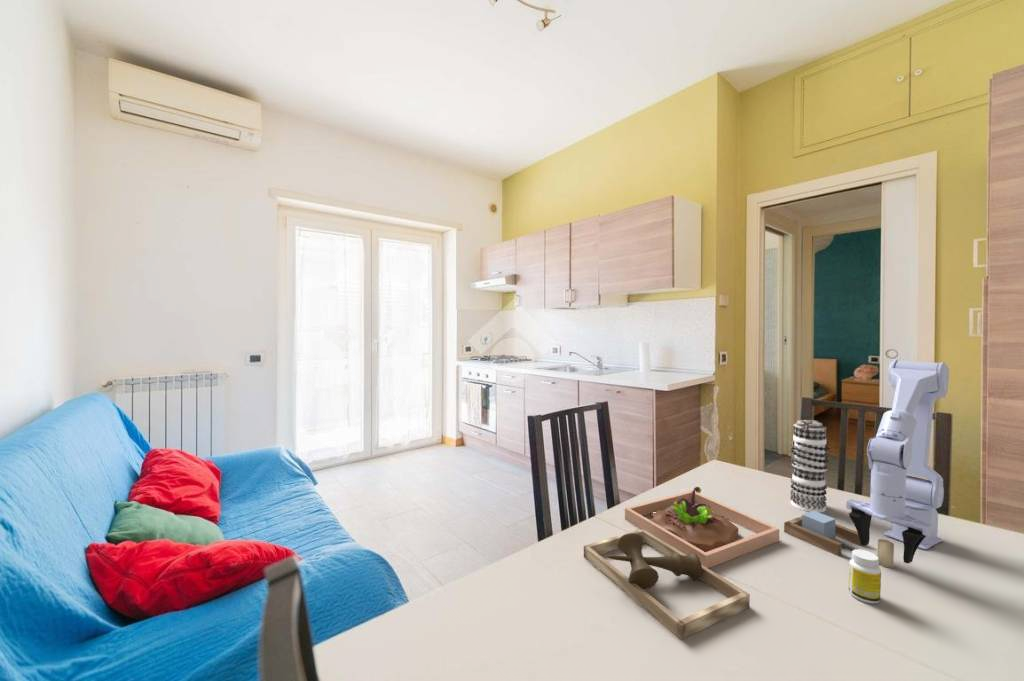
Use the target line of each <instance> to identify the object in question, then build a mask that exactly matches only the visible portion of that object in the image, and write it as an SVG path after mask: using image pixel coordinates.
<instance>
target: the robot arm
mask: <svg viewBox="0 0 1024 681" xmlns="http://www.w3.org/2000/svg"><path fill="white" fill-rule="evenodd" d="M887 373H888V374H887V376H888V381H889V382H890V383H891V387H892V388H893V389H894V397H893V401H892V407H891V409H890V410H887V411H885V412H884V413H883V415H882V418H881V419H880V420H881V421H880V422H879V426H878V429H877V432H876V435H875V436H874V437H871V438H869V441H868V443H867V448H866V455H867V459H868V469H869V470H871V471H870V494H869V495H870V496H869V497H870V498H869V499H870V500H869V503H868V502H864V501H859V500H856V499H853V498H849V499H847V500H846V501H845V502H846V506H845V508H846V509H848V510H851V512H849V513H848V517H849V518H850V521H852V523H853V525H854V527H855V529H856V530H855V531H857V532H858V535H859V539H860V543H861V545H860V546H862V547H865V546H868V545H869V544H870V538H871V536H870V531H871V530H870V527H871V521H872V517H873V518H875V519H878V520H880V521H886V522H889V523H891V529H888V530H887V531H885V532H883V534H884V536H886V537H889V538H892V539H895V540H897V541H899V542H903V556H902V557H903V558H902V559H903V563H905V564H910V563H912V562H913V559H914V557H915V554H916V552H917V550H918V548H920V549H922V550H928V549H930V548H931V547H933V546H935V545H937V544H940V543H941V542H943V541H944V540H943V538H942V537H939V536H938V530H939V529H938V528H939V514H938V510H937V509H939V508H940V507H941V506H942V505H943V502H944V495H945V494H944V493H945V490H944V478H943V477H942V475H940V474H939V473H938V472H937V471H936V470H934V469H933V468H932V467H930V465H929V460H930V459H929V458H930V457H929V456H930V447H931V446H930V445H931V436H932V428H933V427H932V424H933V415H934V408H935V407H934V406H935V403H936V401H937V400H939V399H943V398H946V396H947V394H948V390H949V389H948V388H949V381H950V380H949V379H950V369H949V366H948V364H946V362H931V361H930V362H929V361H911V360H899V359H893V361H891V362H890V363H889V367H888V372H887ZM911 475H912V476H911ZM919 477H921V478H919Z"/></svg>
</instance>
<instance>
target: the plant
mask: <svg viewBox="0 0 1024 681" xmlns="http://www.w3.org/2000/svg"><path fill="white" fill-rule="evenodd" d="M691 491H692V494H691V499H690V500H691V501H690V503H689V502H688V500H687V499H685V498H681V499H679V500H677V501H676V502H675V503H674V505H675V506H670V507H668V508H666V509H665V510H657V512H656V513H652V514H651V518H649V520H650V521H652V522H654V523H656V524H657V525H659V526H661V527H663V528H664V529H666V530H668V531H669V532H671V533H673V534H675V535H676V536H678V537H680V538H682V539H683V540H685V541H687V542H688V543H690V544H692V545H694V546H695V547H697V548H699V549H701V550H702V551H705V552H708V551H711V550H713V549H716V548H719V547H722V546H724V545H727V544H730V543H733V542H736V541H737V539H738V538H739V527H738V526H736V525H735V524H734V523H733V522H732V521H731V520H729V519H727V518H725V517H722V516H720V515H718V514H716V513H714V512H712V508H711V507H710V506H709V505H708V504H706V503H699V504H696V502H695V492H696V493H698V494H701V492H702V488H701V487H700V486H695V487H693V490H691ZM682 500H684V501H683V505H681V504H680V501H682ZM702 505H704V507H701V506H702ZM737 537H738V538H737Z"/></svg>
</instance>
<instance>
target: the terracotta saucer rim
mask: <svg viewBox="0 0 1024 681" xmlns="http://www.w3.org/2000/svg"><path fill="white" fill-rule="evenodd" d="M692 491H693V490H689V491H685V492H682V493H679V494H678V493H677V494H674V495H670V496H666V497H662V498H658V499H655V500H651V501H647V502H643V503H639V504H636V505H632V506H627V507H625V508H624V519H625V520H626V521H627V522H629V523H631V524H633V525H634V526H636V527H638V528H639V529H645V530H646V531H648V532H649V533H651V534H653V535H654V536H656V537H657V538H659V539H661V540H662V541H664V542H666V543H667V544H669V545H670V546H672V547H674V548H675V549H677V550H679V551H680V552H682V553H683V554H685V555H688V554H689V553H690V552H694V553H695V554H697V556H698V557H699V559H700V561H701V565H703V566H705V567H706V568H708V569H709V568H712V567H715V566H717V565H721V564H722V563H726V562H728V561H730V560H733V559H737V558H738V556H739V557H742V556H744V555H746V553H747V554H750V553H752V552H754V551H757V550H760V549H762V548H765V547H767V546H770V545H772V544H775V543H778V542H780V528H778V527H776V526H773V525H771V524H770V523H767V522H765V521H762V520H760V519H757V518H756V517H753V516H750V515H748V514H747V513H746V514H745V513H744V512H741V511H739V510H737V509H736V508H735V509H734V508H732V507H730V506H728V505H725V504H723V503H721V502H719V501H716V500H714V499H712V498H710V497H707V496H705V495H703V494H701V493H697V492H696V491H695V502H696V504H699V503H706V504H708V505H709V506H710V507H711V508H712V511H711V512H713V513H715V514H716V513H717V514H718V515H721V516H723V517H724V518H726V519H728V520H729V521H730V522H732V523H733V522H734V523H736V524H737V525H740V526H742V527H744V528H746V529H748V530H751V531H752V532H755V533H756V534H753V535H750V536H747V537H744V538H742V539H738V540H735V541H734V542H733V543H730V544H727V545H724V546H722V547H719V548H716V549H713V550H711V551H708V552H704V551H702V550H701V549H699V548H697V547H695V546H694V545H692V544H690V543H688V542H687V541H685V540H683V539H682V538H680V537H678V536H676V535H675V534H673V533H671V532H669V531H668V530H666V529H664V528H663V527H661V526H659V525H657V524H656V523H654V522H652V521H650V520H649V519H650V518H649V519H648V518H647V517H646V516H648V515H651V514H650V513H653V512H657V510H665V509H666V508H668V507H670V506H675V505H674V503H675V502H676V501H677V500H679V499H681V498H685V499H687V500H688V502H689V503H690V501H691V500H690V499H691V494H692ZM683 501H684V500H682V501H680V504H681V505H683ZM701 507H704V505H702V506H700V508H701ZM647 514H648V515H647ZM643 515H645V516H643Z"/></svg>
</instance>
